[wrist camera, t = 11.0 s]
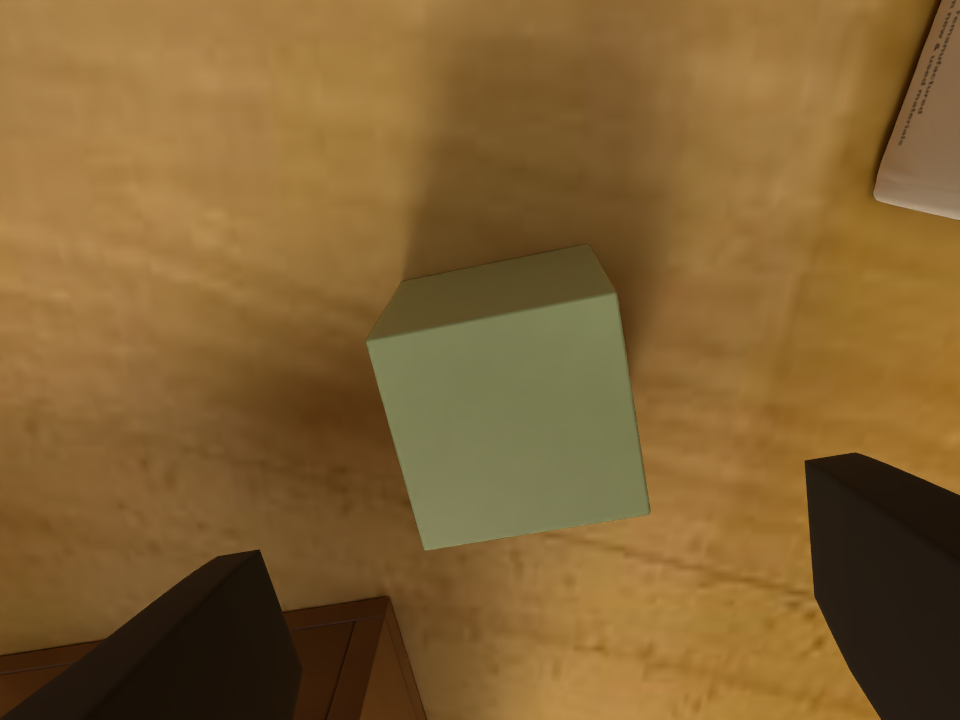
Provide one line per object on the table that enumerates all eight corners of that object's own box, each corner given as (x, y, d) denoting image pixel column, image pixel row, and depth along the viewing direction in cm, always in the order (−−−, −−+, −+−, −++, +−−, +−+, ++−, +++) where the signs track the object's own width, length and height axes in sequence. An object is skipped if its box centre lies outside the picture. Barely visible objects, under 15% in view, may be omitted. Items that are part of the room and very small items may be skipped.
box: (617, 418, 17) (651, 515, 13) (443, 449, 18) (423, 552, 14) (589, 243, 16) (617, 290, 12) (400, 281, 16) (364, 339, 12)
